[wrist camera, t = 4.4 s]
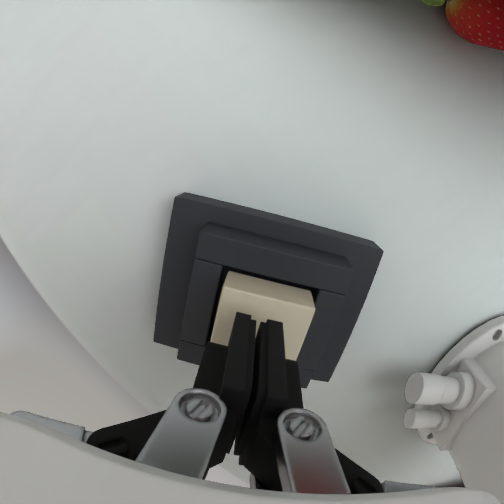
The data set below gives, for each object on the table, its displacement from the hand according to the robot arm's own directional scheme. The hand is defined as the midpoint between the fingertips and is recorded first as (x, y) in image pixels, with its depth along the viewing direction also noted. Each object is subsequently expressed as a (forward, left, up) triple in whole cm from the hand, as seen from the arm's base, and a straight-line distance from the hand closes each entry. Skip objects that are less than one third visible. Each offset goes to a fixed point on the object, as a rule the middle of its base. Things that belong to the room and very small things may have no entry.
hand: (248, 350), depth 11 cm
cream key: (0, 0, -3) cm, 3 cm away
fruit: (+12, +18, -2) cm, 21 cm away
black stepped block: (0, 0, -6) cm, 6 cm away
